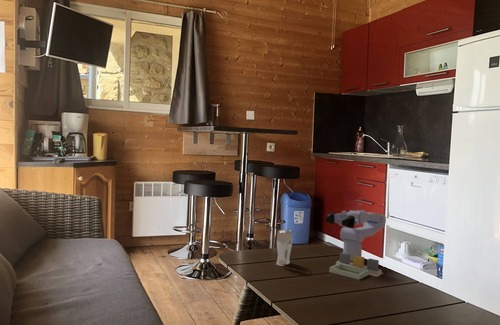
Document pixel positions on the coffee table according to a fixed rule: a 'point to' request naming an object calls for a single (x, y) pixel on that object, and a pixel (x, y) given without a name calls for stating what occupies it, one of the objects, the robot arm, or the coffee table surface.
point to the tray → (336, 270)
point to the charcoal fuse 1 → (344, 258)
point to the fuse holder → (371, 272)
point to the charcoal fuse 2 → (372, 264)
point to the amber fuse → (358, 261)
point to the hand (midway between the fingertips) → (334, 221)
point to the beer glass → (284, 246)
